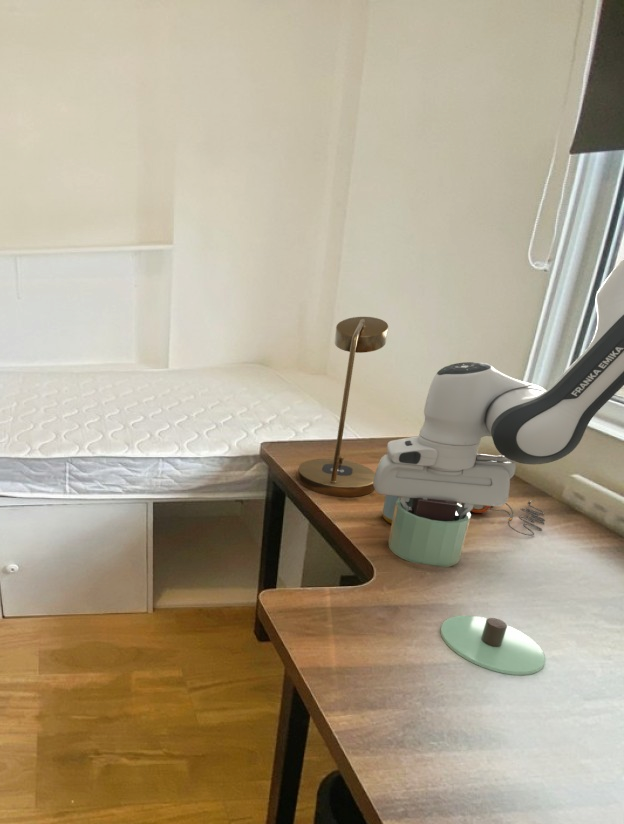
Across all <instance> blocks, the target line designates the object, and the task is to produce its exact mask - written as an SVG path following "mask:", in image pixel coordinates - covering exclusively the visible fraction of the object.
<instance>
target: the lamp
mask: <svg viewBox="0 0 624 824" xmlns="http://www.w3.org/2000/svg"><path fill="white" fill-rule="evenodd" d="M388 331H389V324H388V323H387V322H386V321H385V320H383V319H381V318H377V317H373V316H353V317H349V318H346V319H343V320H341V321H339V322H338V323H337V325H336V327H335V336H334V345H335V346H336V348H337V349H339V350H342V351H344V352H348V353H349V355H348V361H347V368H346V369H347V370H346V375H345V383H344V389H343V395H342V403H341V410H340V416H339V424H338V429H337V435H336V444H335V449H334V458H315V459H310V460H306V461H304V462H302V463H300V464H299V465H298V468H297V475H296V478H297V481H298V482H299V483H300V484H301V485H302V486H303V487H305V488H307V489H309V490H311V491H313V492H316V493H318V494H323V495H327V496H331V497H340V498H341V497H343V498H344V497H345V498H355V497H361V496H366V495H370V494H371V493H373V492H374V491H375V489H374V486H373V481H374V476H375V471H373V470H372V469H371V468H369V467H367V466H366V465H363V464H360V463H357V462H353V461H350V460H344V456H342V455H341V448H342V443H343V437H344V436H343V435H344V429H345V423H346V416H347V409H348V403H349V396H350V390H351V384H352V382H351V381H352V376H353V371H354V370H353V369H354V364H355V358H356V353H358V354H359V353H360V354H362V353H371V352H374V351H378V350H380V349H382V348H383V347H384V346H385V345H386V343H387V337H388Z"/></svg>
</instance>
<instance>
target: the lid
mask: <svg viewBox="0 0 624 824" xmlns="http://www.w3.org/2000/svg"><path fill="white" fill-rule="evenodd" d="M440 636H441V639H442V640H443V642H444V643H445V644H446V645H447V647H448V648H450V650H452V651H453V652H454V653H456V654H457V655H458V656H460V657H462V658H463V659H465V660H466V661H468V662H470V663H473V664H474V665H477V666H479V667H481V668H484V669H487V670H489V671H493V672H496V673H501V674H506V675H513V676H526V675H532V674H536V673H538V672H540V671H541V670H542V669H543V668H544V666H545V665H546V655H545V651H544V650H543V649H542V647H541V646H540V645H539V644H538V643H537V642H536V641H535V640H534V639H533V638H531V637H530V636H529V635H527V634H526V633H524V632H522V631H521V630H519V629H518V628H515V627H513V626H510V625H508V624H507V623H506V622H505V621H503V620H501V619H499V618H495V617H482V616H477V615H454V616H451V617H449V618H447V619H445V620H444V621H443V622H442V624H441V625H440Z"/></svg>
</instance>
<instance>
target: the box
mask: <svg viewBox="0 0 624 824" xmlns="http://www.w3.org/2000/svg"><path fill="white" fill-rule="evenodd" d="M457 503H458V502H455V501H446V500H436V499H427V498H414V499H413V504H412V506H413V509H414V515H416V516H419V517H423V518H426V519H430V520H437V521H454V518H455V514H456V509H457V506H458V504H457Z"/></svg>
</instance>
